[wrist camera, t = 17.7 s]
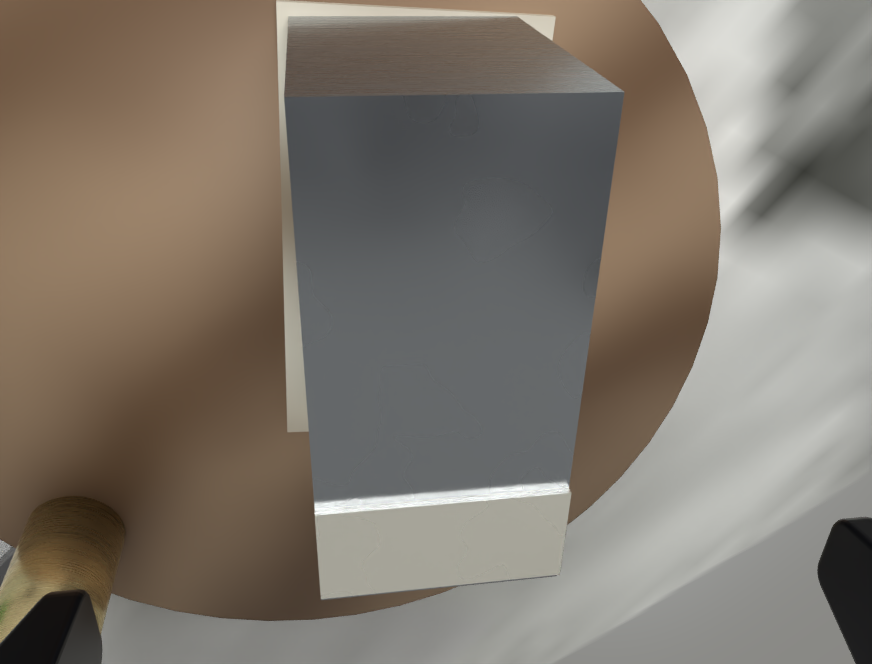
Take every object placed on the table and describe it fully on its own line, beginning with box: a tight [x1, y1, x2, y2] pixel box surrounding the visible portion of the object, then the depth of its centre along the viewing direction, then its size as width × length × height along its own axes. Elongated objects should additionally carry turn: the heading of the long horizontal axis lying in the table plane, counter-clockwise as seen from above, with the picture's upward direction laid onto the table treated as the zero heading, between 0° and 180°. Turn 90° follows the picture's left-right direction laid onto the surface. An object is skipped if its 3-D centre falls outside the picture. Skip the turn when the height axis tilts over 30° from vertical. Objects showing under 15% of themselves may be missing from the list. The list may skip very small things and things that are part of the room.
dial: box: [0, 0, 721, 643], centre depth 17 cm, size 20×20×6 cm
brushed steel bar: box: [284, 16, 624, 600], centre depth 15 cm, size 9×4×6 cm, turn 179°
